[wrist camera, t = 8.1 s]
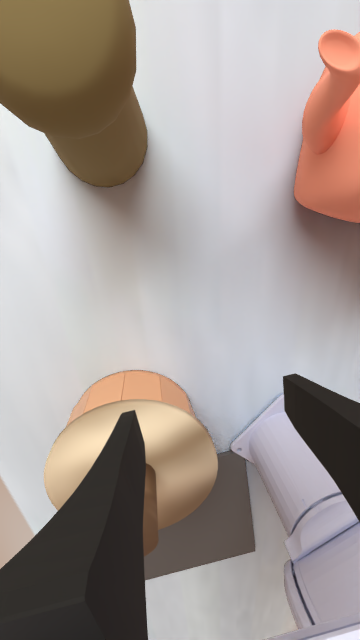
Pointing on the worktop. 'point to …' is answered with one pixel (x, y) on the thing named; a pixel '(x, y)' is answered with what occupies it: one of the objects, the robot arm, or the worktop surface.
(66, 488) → the lid
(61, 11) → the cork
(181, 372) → the worktop surface
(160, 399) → the bowl
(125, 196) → the worktop surface
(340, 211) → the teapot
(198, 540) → the mat
